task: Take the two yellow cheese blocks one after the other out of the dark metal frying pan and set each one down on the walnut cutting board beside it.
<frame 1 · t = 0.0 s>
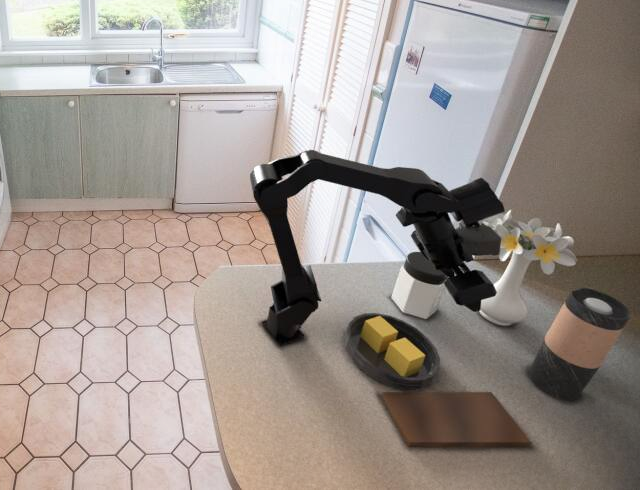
hand: (463, 292, 86), 15 cm above the countertop, tool tilted 35°, fingers open, 9 cm apart
flower vase: (490, 314, 101), on the countertop
board: (450, 420, 78), on the countertop
travel mug: (552, 384, 85), on the countertop
cheese front: (401, 365, 88), resting on pan
pan: (387, 355, 91), on the countertop
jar: (412, 305, 103), on the countertop
cheese back: (376, 342, 93), resting on pan
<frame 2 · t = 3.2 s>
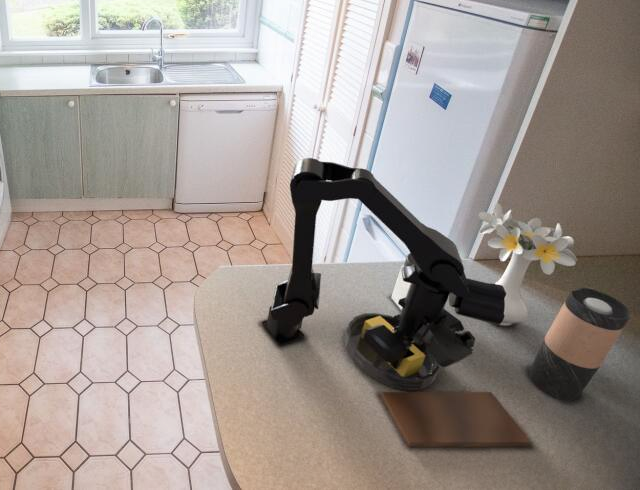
hand: (401, 363, 88), 1 cm above the countertop, tool pointing down, fingers closed on cheese front, 4 cm apart
cheese front: (401, 365, 88), point 1 cm above the countertop, touching gripper, pan
everything else where it was.
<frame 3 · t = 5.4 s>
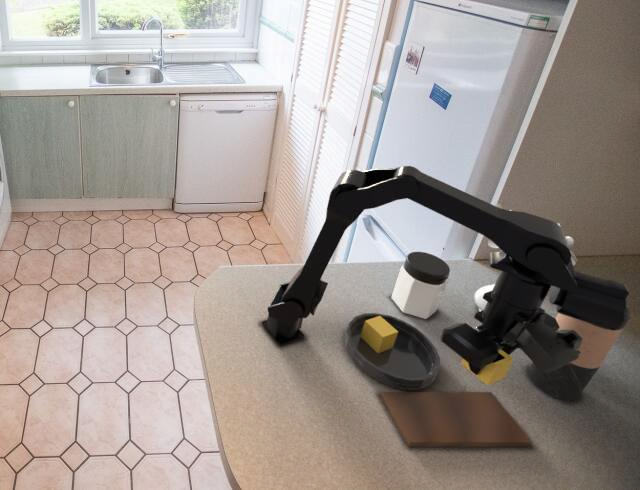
hand: (482, 368, 75), 11 cm above the countertop, tool pointing down, fingers closed on cheese front, 4 cm apart
cheese front: (482, 370, 76), point 10 cm above the countertop, touching gripper
everything else where it was.
when the fingers open (2 cm above the countertop, at t = 7.9 s): cheese front stays where it is, resting on board.
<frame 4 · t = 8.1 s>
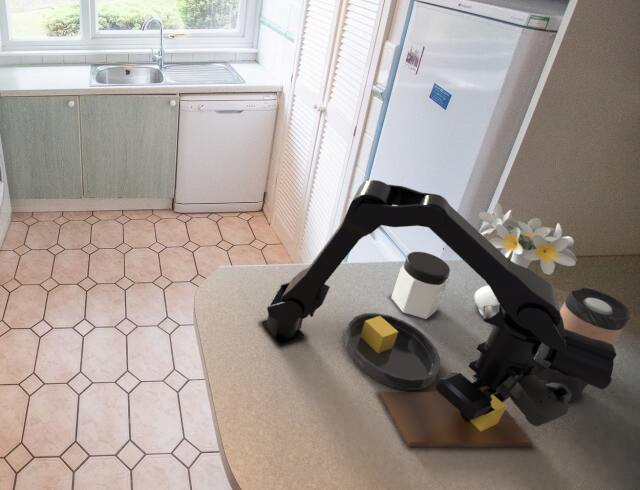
hand: (476, 414, 78), 2 cm above the countertop, tool pointing down, fingers open, 5 cm apart
cheese front: (476, 415, 78), point 1 cm above the countertop, touching board
everything else where it was.
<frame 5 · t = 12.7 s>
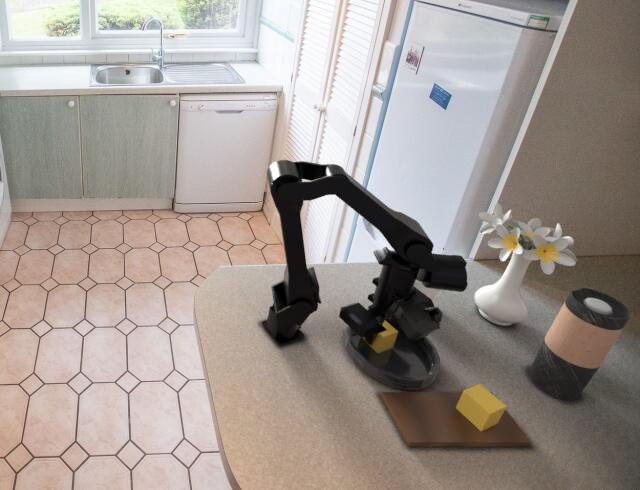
hand: (376, 340, 93), 1 cm above the countertop, tool pointing down, fingers closed on cheese back, 4 cm apart
cheese back: (376, 342, 93), resting on pan, touching gripper
everything else where it was.
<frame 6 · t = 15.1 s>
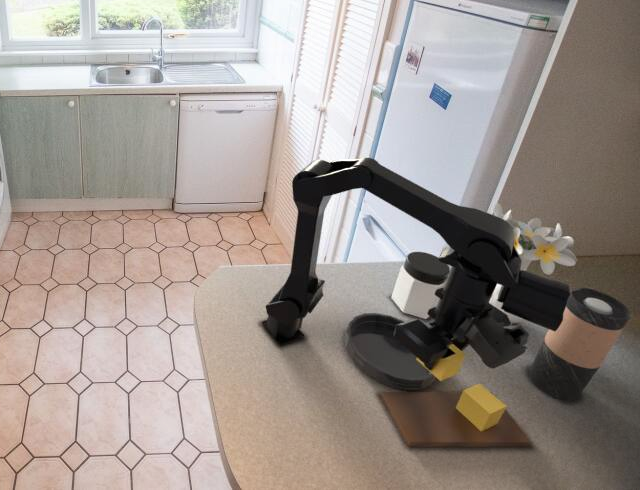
hand: (437, 364, 76), 11 cm above the countertop, tool pointing down, fingers closed on cheese back, 4 cm apart
cheese back: (436, 366, 76), point 10 cm above the countertop, touching gripper
everything else where it was.
when the fingers open (2 cm above the countertop, at t = 17.7 s): cheese back stays where it is, resting on board.
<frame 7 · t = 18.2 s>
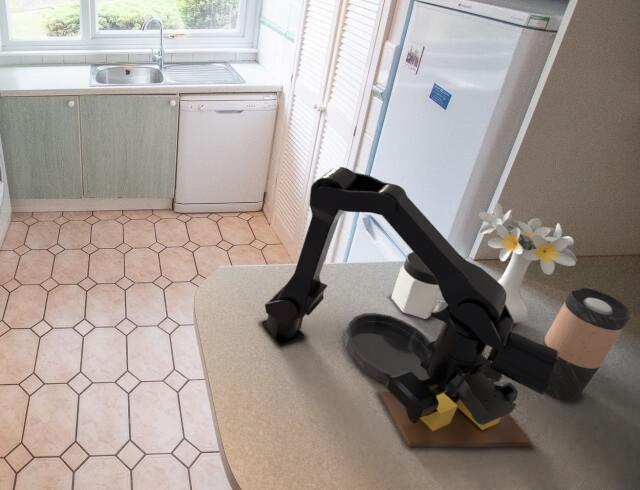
hand: (429, 413, 78), 2 cm above the countertop, tool pointing down, fingers open, 8 cm apart
cheese front: (476, 414, 78), point 1 cm above the countertop, tilted 6°, touching board, gripper
cheese back: (429, 415, 78), point 1 cm above the countertop, touching board
everything else where it was.
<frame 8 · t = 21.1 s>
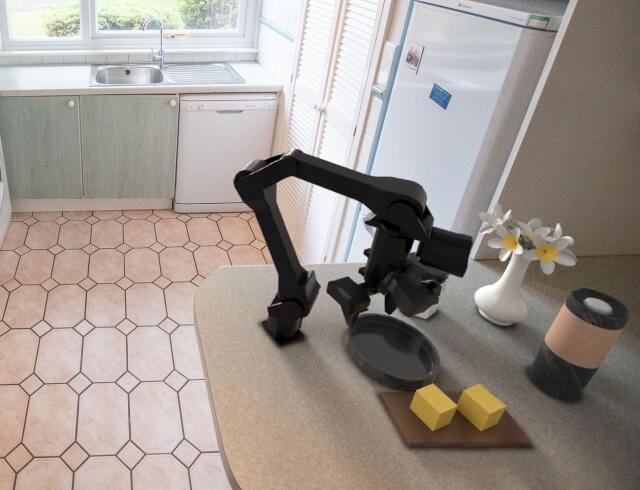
hand: (368, 319, 84), 12 cm above the countertop, tool pointing down, fingers open, 9 cm apart
cheese front: (476, 415, 78), point 1 cm above the countertop, touching board
everything else where it was.
at the end: cheese front inside the target area (0.2 cm from its centre), point 1.2 cm above the countertop; cheese back inside the target area (0.1 cm from its centre), point 1.2 cm above the countertop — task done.
